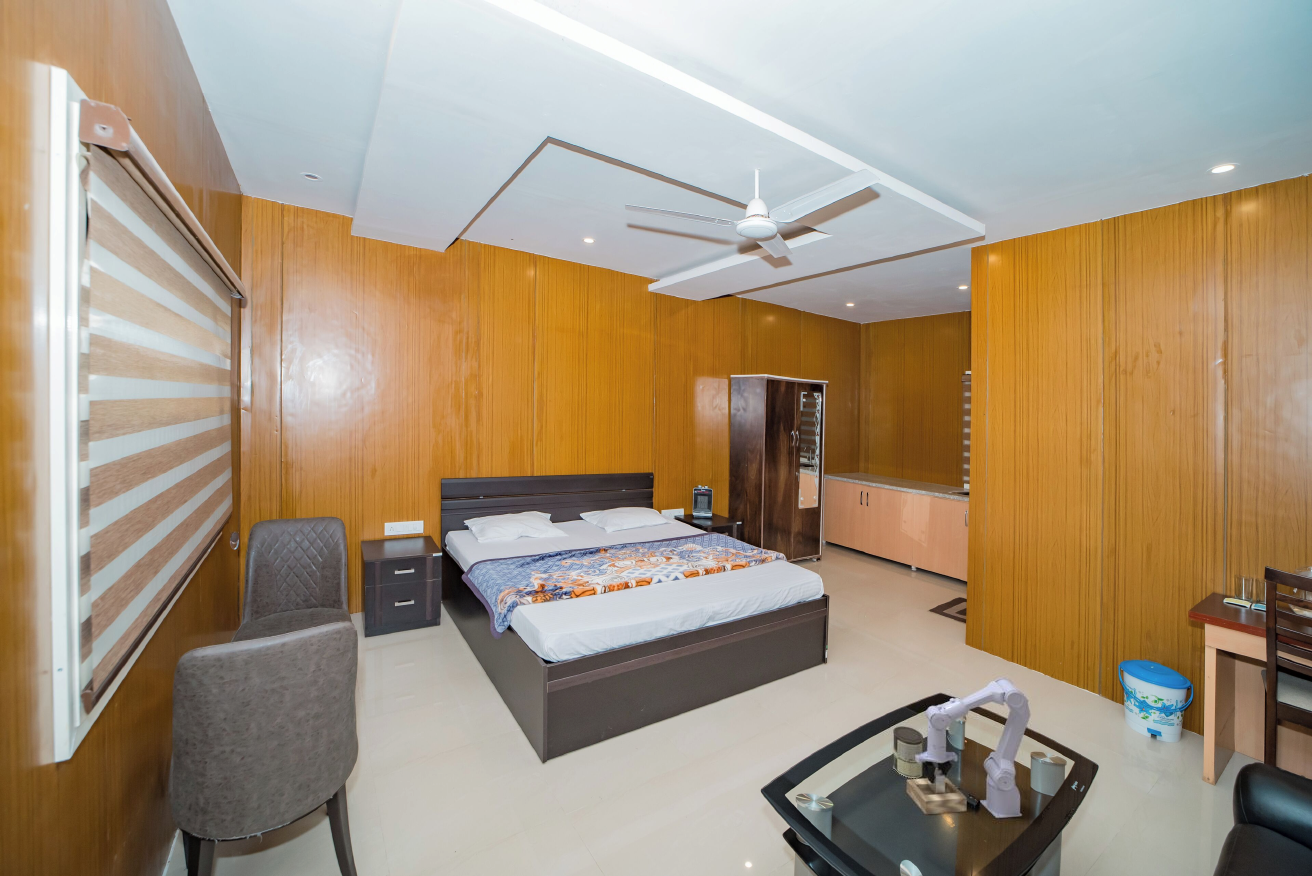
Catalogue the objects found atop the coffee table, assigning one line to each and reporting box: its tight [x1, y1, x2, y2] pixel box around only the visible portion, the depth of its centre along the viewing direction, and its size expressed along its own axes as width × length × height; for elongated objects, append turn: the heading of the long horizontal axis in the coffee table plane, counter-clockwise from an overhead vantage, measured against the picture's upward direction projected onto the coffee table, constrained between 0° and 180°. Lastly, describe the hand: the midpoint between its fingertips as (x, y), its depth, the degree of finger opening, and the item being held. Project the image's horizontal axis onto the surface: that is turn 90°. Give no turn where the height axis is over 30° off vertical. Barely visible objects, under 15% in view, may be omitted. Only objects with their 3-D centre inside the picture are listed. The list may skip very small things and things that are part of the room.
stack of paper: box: [928, 767, 945, 793], centre depth 185 cm, size 3×4×7 cm
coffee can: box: [892, 726, 924, 779], centre depth 202 cm, size 10×10×14 cm
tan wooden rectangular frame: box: [906, 777, 968, 815], centre depth 185 cm, size 15×11×4 cm
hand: (936, 781), depth 185 cm, fingers closed on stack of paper, 3 cm apart
